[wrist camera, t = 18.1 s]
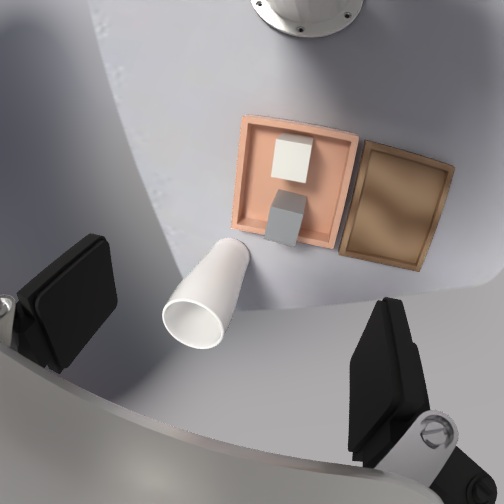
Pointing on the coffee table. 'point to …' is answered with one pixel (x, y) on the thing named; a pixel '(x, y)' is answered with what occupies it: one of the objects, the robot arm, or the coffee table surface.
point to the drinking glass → (208, 296)
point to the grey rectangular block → (285, 217)
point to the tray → (395, 206)
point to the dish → (316, 187)
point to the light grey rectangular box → (292, 157)
